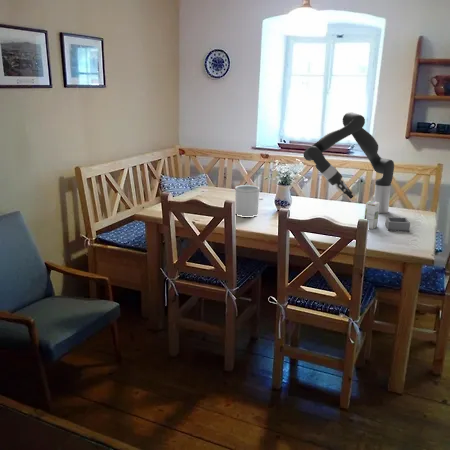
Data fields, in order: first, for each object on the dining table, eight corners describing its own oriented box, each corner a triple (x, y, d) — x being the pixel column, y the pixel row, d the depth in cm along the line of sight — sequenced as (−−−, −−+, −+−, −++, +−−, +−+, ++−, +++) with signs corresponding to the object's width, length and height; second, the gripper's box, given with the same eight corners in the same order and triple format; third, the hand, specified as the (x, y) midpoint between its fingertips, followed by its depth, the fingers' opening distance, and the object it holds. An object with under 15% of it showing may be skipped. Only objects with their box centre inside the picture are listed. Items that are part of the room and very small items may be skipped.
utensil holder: (252, 211, 300) (252, 184, 295) (263, 216, 286) (263, 188, 282) (231, 213, 294) (231, 186, 289) (241, 219, 281) (241, 190, 276)
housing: (387, 230, 257) (388, 222, 256) (385, 225, 268) (386, 216, 266) (409, 231, 256) (410, 222, 254) (405, 226, 266) (406, 217, 264)
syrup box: (367, 225, 268) (369, 200, 264) (377, 227, 265) (379, 201, 260) (363, 227, 264) (365, 202, 260) (373, 229, 260) (375, 203, 256)
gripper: (337, 172, 252) (357, 194, 253) (336, 168, 266) (355, 188, 267) (326, 181, 255) (347, 203, 256) (326, 177, 268) (345, 197, 269)
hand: (351, 195), depth 261 cm, fingers open, 8 cm apart
